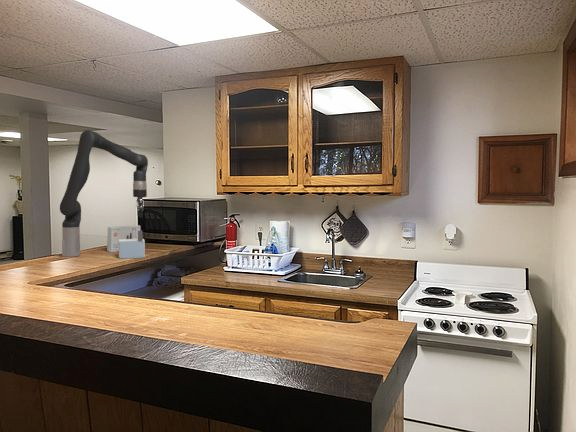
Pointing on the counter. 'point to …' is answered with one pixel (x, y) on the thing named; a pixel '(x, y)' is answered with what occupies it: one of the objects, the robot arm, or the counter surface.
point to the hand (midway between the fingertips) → (140, 216)
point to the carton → (130, 240)
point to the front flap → (132, 248)
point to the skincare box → (120, 235)
